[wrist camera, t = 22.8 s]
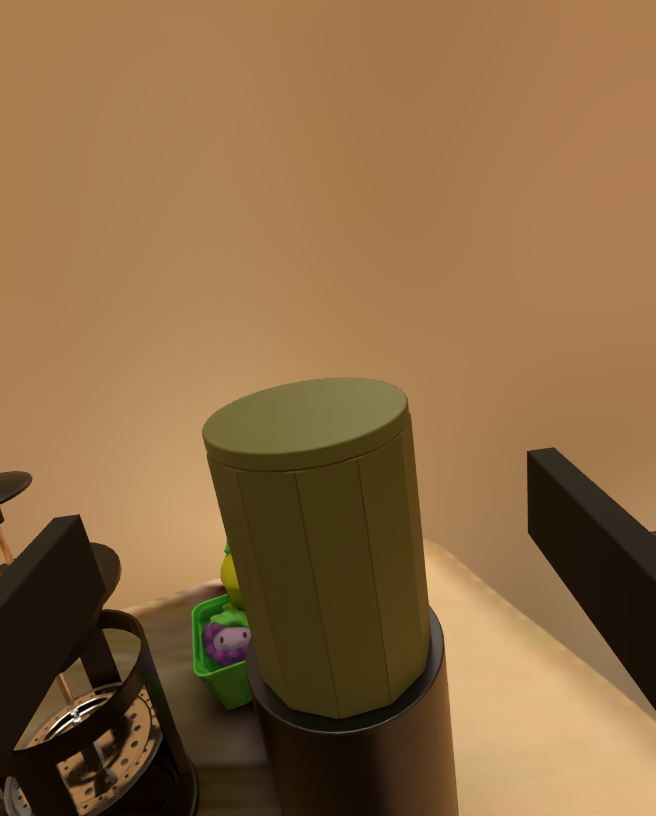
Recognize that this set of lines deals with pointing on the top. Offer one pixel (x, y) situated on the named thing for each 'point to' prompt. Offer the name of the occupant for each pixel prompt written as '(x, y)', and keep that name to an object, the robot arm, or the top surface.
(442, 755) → the flask
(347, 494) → the olive tea canister
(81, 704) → the french press
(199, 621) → the fruit basket
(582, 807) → the top surface
